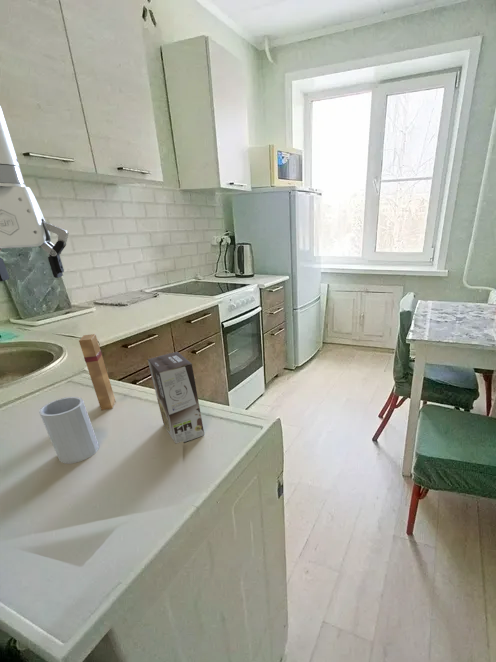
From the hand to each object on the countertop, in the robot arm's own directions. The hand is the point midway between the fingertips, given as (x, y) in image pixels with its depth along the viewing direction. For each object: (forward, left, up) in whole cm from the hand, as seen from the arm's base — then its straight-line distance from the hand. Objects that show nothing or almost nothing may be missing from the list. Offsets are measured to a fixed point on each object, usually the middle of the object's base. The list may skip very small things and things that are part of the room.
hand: (31, 278), depth 70 cm
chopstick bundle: (+4, +4, -31) cm, 32 cm away
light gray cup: (+12, -13, -31) cm, 36 cm away
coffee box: (+28, -1, -32) cm, 42 cm away
